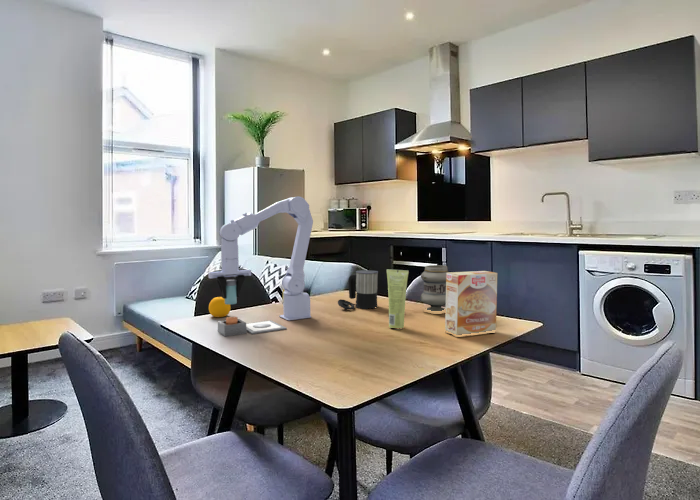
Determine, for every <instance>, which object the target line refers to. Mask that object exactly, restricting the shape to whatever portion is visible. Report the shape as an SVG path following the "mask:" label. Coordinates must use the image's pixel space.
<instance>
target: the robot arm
mask: <svg viewBox="0 0 700 500" xmlns="http://www.w3.org/2000/svg"><path fill="white" fill-rule="evenodd" d="M279 213H281V214H282V213H284V214H285V213H287V214H288V215H290V217H292V218H293V219H294V221H295V222H296V224H297V228H296V229H297V230H296V234H295V238H294V244H293V249H292V253H291V258H290V261H289V262H290V263H289V267H288V268H287V270H286V272H285V275H284V276H283V277H282V280H281V285H282V289H283V288H284V289H285V290H284V292H283V291H282V304H283V307H282V309H283V314H280V315H279V317H280V318H281V319H284V320H286V321H295V320H303V319H309V318H312V316H311V297H310V295H309V293H307V292H304V290H305V286H306V284H305V271H304V269H305V262H306V258H307V252H308V248H309V244H310V239H311V234H312V230H313V229H312V228H313V224H314V220H313V217H312V213H311V209H310V204H309V203H308V201H307V200H306V199H305V198H304V197H303V196H299V195H298V196H294V197H292V196H291V197H288V198H286V199H283V200H280V201H276V202H275V203H273V204H271V205H269V206H267V207H265V208H264V209H262V210H260V211H258V212H257V213H252V212H248V213H247V212H244V213H242V216H240V217H239V218H236V219H231V220H230V222H229V223H225V224H223V225H222V226H221V227H220V230H219V235H220V237H221V239H220V240H221V241H220V243H221V245H220V254H221V255H220V259H221V261H220V262H221V270H220V271H210V272H209V271H208V279H210V280H211V279H215V281H216V283H217V286H218V287H219V289H220V293H221V294H220V295H221V297H222V298H224V299H226V281H227V280H228V279H226V278H231V277H233V280H236V291H237V298H240V294H241V289H242V287H243V285H244V283H245V280H246V277H247V276H252V269H239V266H240V265H239V244H238V239H239V237H240V236H243V235H245V234H247V233H248V232H250V231H252V230H255V229H256V228H258V227H259V224H260V222H262V221H264V220H266V219H269V218H271V217H273V216H275V215H277V214H279Z"/></svg>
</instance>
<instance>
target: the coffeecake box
mask: <svg viewBox="0 0 700 500" xmlns="http://www.w3.org/2000/svg"><path fill="white" fill-rule="evenodd" d="M449 272H450V271H449ZM497 300H498V272H494V271H487V270H478V271H477V270H476V271H475V270H474V271H473V270H472V271H455V272H454V271H453V272H452V271H451V272H450V273H446V305H445V309H446V314H444V315H445V322H444V323H445V324H444V325H445V326H444V331H445V330H446V331H448V332H451V333H453V334H456V335H462V334H471V333H479V332H486V331H492V330H496V331H497V304H498V301H497Z"/></svg>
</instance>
